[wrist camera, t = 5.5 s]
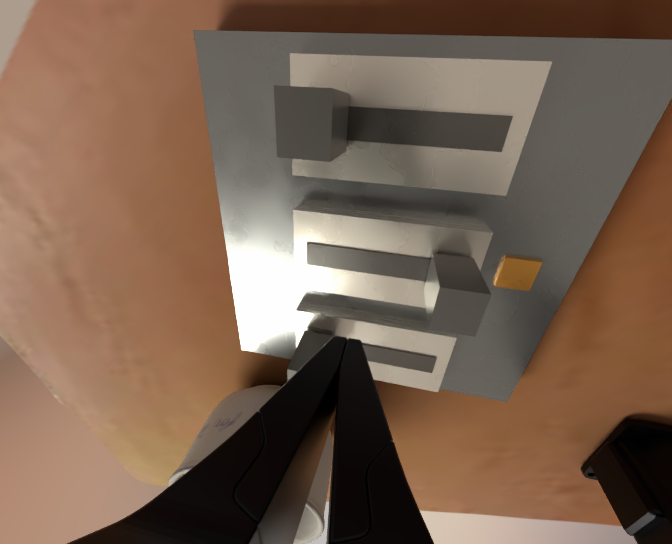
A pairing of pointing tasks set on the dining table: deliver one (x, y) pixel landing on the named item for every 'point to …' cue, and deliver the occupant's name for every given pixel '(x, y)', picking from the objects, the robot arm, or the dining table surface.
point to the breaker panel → (423, 186)
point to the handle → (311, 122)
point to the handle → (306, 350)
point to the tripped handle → (455, 295)
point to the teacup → (228, 421)
